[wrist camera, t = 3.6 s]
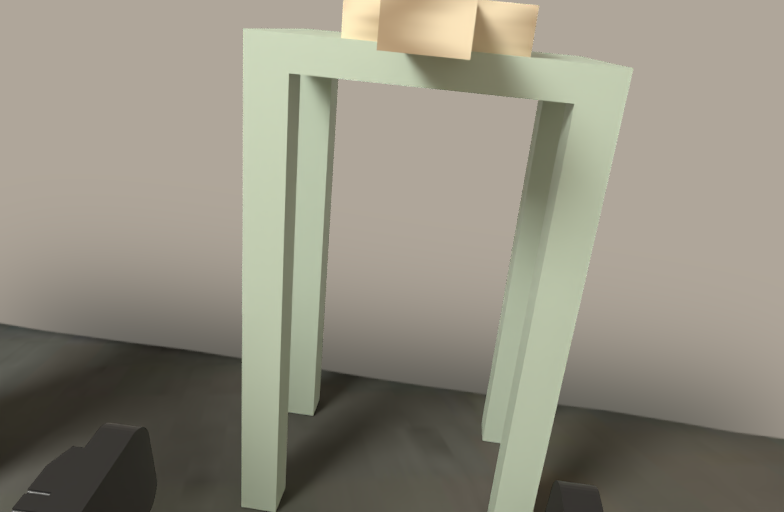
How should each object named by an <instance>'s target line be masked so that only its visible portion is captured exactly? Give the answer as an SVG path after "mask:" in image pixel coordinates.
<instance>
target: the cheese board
mask: <svg viewBox="0 0 784 512" xmlns="http://www.w3.org/2000/svg"><path fill="white" fill-rule="evenodd" d="M538 9H539V5H529V4H518V3H509V2H498V1H488V0H343V16H342V33H341V38H347V39H357V40H366V41H376V42H377V50H379V51H388V52H398V53H408V54H417V55H427V56H437V57H446V58H456V59H466V60H470V57H471V51H474V52H484V53H494V54H504V55H513V56H523V57H531V51H532V45H533V39H534V33H535V27H536V21H537V15H538Z"/></svg>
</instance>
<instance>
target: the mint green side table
mask: <svg viewBox="0 0 784 512" xmlns="http://www.w3.org/2000/svg"><path fill="white" fill-rule="evenodd" d="M341 33H342V32H335V31H325V30H314V29H243V229H242V230H243V231H242V232H243V234H242V237H243V239H242V245H243V246H242V485H241V507H245V508H251V509H258V510H264V511H270V512H276V510H277V508H278V505H279V503H280V500H281V497H282V495H283V492H284V490H285V484H286V457H287V429H288V412H290V413H297V414H304V415H311V416H313V415H314V412H315V410H316V407H317V405H318V402H319V398H320V381H321V362H322V347H323V329H324V312H325V295H326V278H327V261H328V244H329V227H330V209H331V192H332V176H333V159H334V157H333V156H334V141H335V124H336V107H337V89H338V79H348V80H357V81H366V82H375V83H384V84H394V85H404V86H412V87H421V88H431V89H440V90H450V91H459V92H468V93H478V94H488V95H497V96H506V97H515V98H525V99H534V100H539V101H538V106H537V111H536V117H535V123H534V129H533V134H532V141H531V145H530V151H529V157H528V163H527V168H526V174H525V180H524V185H523V191H522V197H521V202H520V208H519V214H518V219H517V226H516V231H515V236H514V242H513V248H512V254H511V259H510V266H509V271H508V277H507V282H506V288H505V294H504V299H503V306H502V310H501V316H500V322H499V328H498V333H497V339H496V345H495V351H494V356H493V362H492V367H491V373H490V379H489V385H488V391H487V396H486V402H485V407H484V413H483V419H482V440H483V441H488V442H495V443H501V444H500V450H499V455H498V460H497V465H496V470H495V476H494V481H493V486H492V491H491V496H490V502H489V507H488V512H533V509H534V505H535V500H536V496H537V491H538V487H539V483H540V478H541V474H542V469H543V465H544V460H545V456H546V452H547V447H548V443H549V438H550V434H551V430H552V425H553V421H554V416H555V412H556V408H557V403H558V398H559V394H560V390H561V386H562V381H563V377H564V372H565V368H566V363H567V359H568V355H569V350H570V345H571V341H572V337H573V333H574V328H575V324H576V319H577V315H578V311H579V306H580V302H581V297H582V293H583V288H584V283H585V279H586V275H587V271H588V266H589V262H590V258H591V253H592V249H593V244H594V240H595V236H596V231H597V227H598V222H599V218H600V213H601V209H602V204H603V200H604V196H605V191H606V187H607V183H608V178H609V174H610V169H611V165H612V161H613V156H614V152H615V147H616V143H617V139H618V134H619V130H620V125H621V121H622V116H623V112H624V108H625V103H626V99H627V94H628V90H629V85H630V81H631V77H632V72H633V68H629V67H625V66H620V65H617V64H612V63H608V62H603V61H599V60H595V59H590V58H586V57H581V56H572V55H561V54H551V53H542V52H532V51H531V57H523V56H513V55H504V54H494V53H484V52H474V51H471V57H470V60H466V59H456V58H446V57H437V56H427V55H417V54H408V53H398V52H388V51H379V50H377V42H376V41H366V40H357V39H347V38H341Z"/></svg>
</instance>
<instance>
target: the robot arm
mask: <svg viewBox="0 0 784 512" xmlns="http://www.w3.org/2000/svg"><path fill="white" fill-rule="evenodd" d="M156 487H157V480H156V473H155V467H154V462H153V456H152V450H151V444H150V438H149V433H148V431H147V429H146V428H145V427H138V426H131V425H123V424H116V423H105V424H104V425H102V426H101V427H100V428H99V429H98V431H97V432H96V433H95V435H94V436H93V437H92V439H91V440H90V441H89V443H88V444H87V445H86V447H85V448H82V447H75V446H73V447H71V448H70V449H69V450H67V451H66V452H64V453H63V454H62V455H60V456H59V457H58V458H56V459H55V460H53V461H52V462H51V463H49V464H48V465H47V466H46V467H45V468H44V469H43V471H42V472H41V473H40V474H39V476H38V477H37V478H36V479H35V481H34V482H33V483H32V484H31V486H30V487H29V488H28V492H27V494H24V495H23V496H22V497H21V498H20V500H19V501H18V502H17V503H16V505H15V506H14V507H13V508H12V509H13V510H12V512H150V510H151V508H152V505H153V502H154V498H155V494H156ZM545 512H603V507H602V503H601V499H600V495H599V491H598V489H597V487H596V486H594V485H587V484H579V483H572V482H564V481H557V480H556V481H555V482H554V483H553V486H552V489H551V493H550V497H549V500H548V504H547V508H546V511H545Z"/></svg>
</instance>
